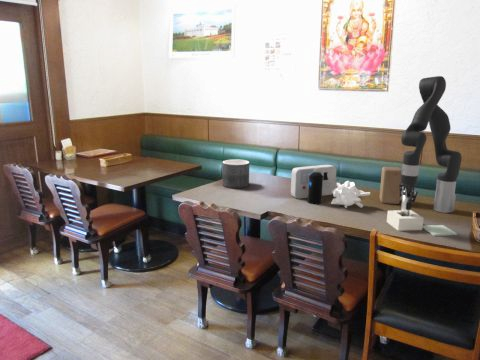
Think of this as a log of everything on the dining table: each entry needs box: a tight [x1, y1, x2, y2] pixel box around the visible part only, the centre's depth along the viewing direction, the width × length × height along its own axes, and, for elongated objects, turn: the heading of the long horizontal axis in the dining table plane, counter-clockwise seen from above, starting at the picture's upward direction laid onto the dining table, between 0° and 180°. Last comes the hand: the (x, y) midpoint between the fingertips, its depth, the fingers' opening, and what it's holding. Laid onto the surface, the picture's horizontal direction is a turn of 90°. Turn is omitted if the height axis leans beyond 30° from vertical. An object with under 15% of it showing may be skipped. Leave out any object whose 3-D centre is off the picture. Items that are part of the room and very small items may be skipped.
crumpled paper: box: [330, 180, 371, 209], centre depth 224 cm, size 20×17×15 cm
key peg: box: [400, 190, 411, 216], centre depth 194 cm, size 4×4×14 cm
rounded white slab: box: [290, 164, 337, 199], centre depth 244 cm, size 29×8×18 cm, turn 113°
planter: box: [221, 158, 250, 189], centre depth 267 cm, size 18×18×16 cm
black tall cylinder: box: [307, 168, 323, 205], centre depth 231 cm, size 8×8×20 cm
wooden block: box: [378, 166, 402, 205], centre depth 233 cm, size 10×10×20 cm
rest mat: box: [422, 224, 458, 237], centre depth 190 cm, size 11×11×1 cm
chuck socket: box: [386, 209, 424, 232], centre depth 196 cm, size 12×12×6 cm
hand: (405, 207), depth 195 cm, fingers closed on key peg, 4 cm apart
